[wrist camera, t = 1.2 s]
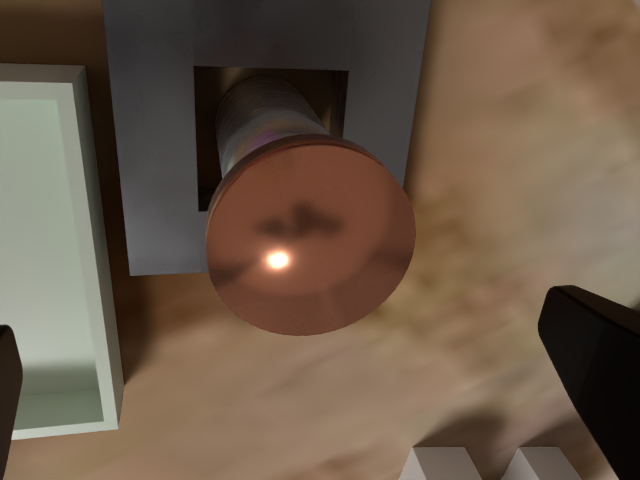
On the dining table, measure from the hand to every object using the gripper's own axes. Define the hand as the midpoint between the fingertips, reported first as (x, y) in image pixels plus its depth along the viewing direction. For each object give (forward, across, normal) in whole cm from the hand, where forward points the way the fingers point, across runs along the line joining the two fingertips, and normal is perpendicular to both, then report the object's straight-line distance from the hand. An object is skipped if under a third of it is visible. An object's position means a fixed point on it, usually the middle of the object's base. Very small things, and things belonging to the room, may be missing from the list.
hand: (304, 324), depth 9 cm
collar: (+13, -1, +1) cm, 13 cm away
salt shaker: (+13, -1, +1) cm, 13 cm away
